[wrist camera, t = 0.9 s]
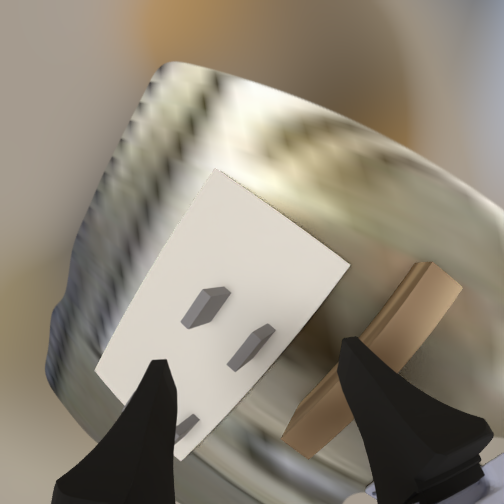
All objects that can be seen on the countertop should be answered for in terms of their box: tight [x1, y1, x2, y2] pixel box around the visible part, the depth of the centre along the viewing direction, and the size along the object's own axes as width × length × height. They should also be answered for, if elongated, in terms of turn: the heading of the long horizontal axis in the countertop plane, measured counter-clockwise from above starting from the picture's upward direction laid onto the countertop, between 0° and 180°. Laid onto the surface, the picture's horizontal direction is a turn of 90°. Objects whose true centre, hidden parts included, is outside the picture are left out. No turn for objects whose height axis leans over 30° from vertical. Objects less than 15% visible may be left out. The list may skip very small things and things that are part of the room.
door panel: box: [281, 262, 463, 459], centre depth 19 cm, size 2×14×6 cm, turn 143°
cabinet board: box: [95, 168, 351, 461], centre depth 24 cm, size 13×24×4 cm, turn 143°
